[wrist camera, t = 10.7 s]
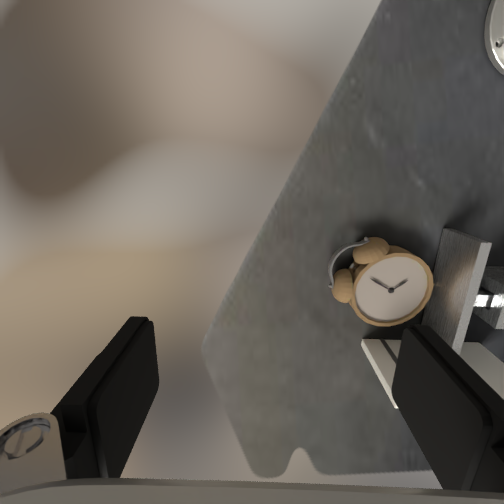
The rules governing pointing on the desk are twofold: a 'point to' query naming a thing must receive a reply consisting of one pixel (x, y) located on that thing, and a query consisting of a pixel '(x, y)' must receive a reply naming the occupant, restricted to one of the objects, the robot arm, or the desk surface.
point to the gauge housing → (500, 284)
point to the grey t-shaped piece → (457, 286)
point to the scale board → (472, 353)
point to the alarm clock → (382, 282)
